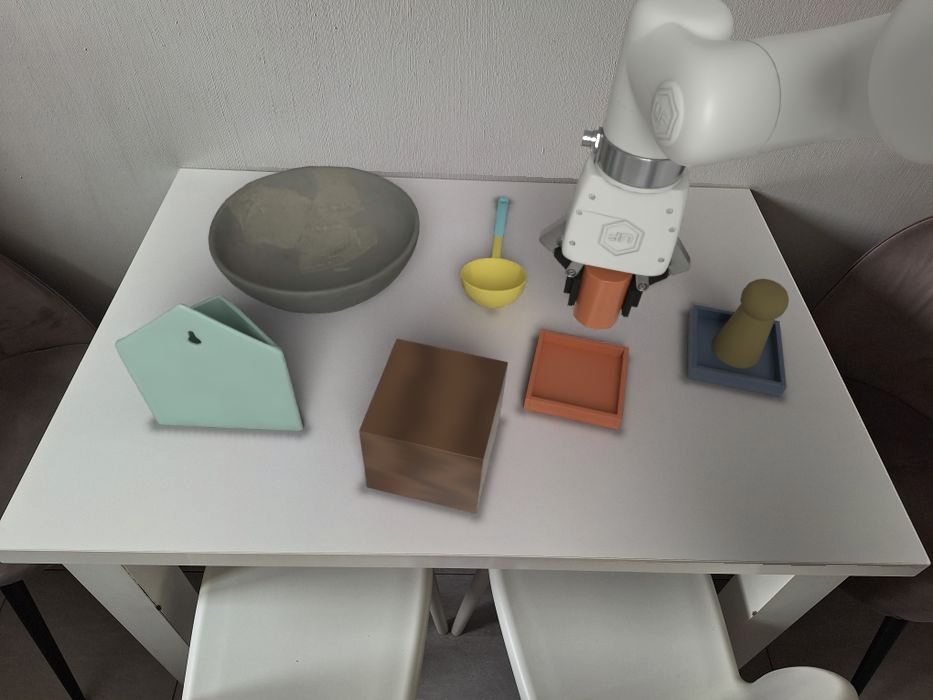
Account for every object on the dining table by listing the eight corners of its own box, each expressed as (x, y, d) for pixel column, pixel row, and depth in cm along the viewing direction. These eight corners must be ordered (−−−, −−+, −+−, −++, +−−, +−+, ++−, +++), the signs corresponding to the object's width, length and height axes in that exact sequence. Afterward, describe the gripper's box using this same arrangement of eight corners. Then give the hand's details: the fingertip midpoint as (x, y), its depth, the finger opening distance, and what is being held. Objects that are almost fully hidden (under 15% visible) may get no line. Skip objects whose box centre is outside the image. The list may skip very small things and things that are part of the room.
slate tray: (773, 331, 87) (779, 320, 85) (779, 397, 80) (786, 387, 78) (688, 314, 88) (693, 304, 87) (687, 378, 81) (692, 367, 80)
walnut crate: (499, 421, 76) (508, 361, 67) (476, 513, 68) (483, 460, 60) (400, 399, 77) (396, 338, 69) (366, 487, 70) (358, 431, 61)
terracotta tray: (625, 358, 83) (629, 347, 81) (617, 430, 76) (622, 419, 74) (538, 340, 84) (540, 329, 83) (523, 409, 77) (525, 398, 75)
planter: (315, 376, 79) (288, 252, 64) (303, 431, 74) (270, 311, 59) (178, 369, 78) (119, 243, 63) (157, 425, 73) (86, 302, 58)
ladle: (455, 318, 85) (456, 279, 81) (475, 227, 106) (476, 193, 102) (523, 324, 84) (527, 285, 81) (529, 231, 105) (532, 197, 102)
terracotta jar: (620, 301, 72) (636, 253, 66) (616, 334, 69) (632, 286, 63) (575, 292, 72) (587, 244, 67) (569, 324, 69) (581, 276, 64)
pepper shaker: (765, 345, 85) (803, 284, 76) (752, 376, 81) (790, 315, 73) (720, 325, 86) (752, 264, 78) (705, 354, 83) (737, 293, 75)
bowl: (204, 348, 81) (181, 291, 73) (247, 213, 98) (231, 155, 90) (417, 352, 82) (415, 296, 74) (422, 218, 99) (422, 161, 91)
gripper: (536, 160, 54) (513, 311, 68) (746, 197, 52) (678, 344, 66) (549, 113, 59) (525, 263, 73) (743, 146, 57) (680, 293, 71)
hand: (599, 301), depth 69 cm, fingers closed on terracotta jar, 5 cm apart
